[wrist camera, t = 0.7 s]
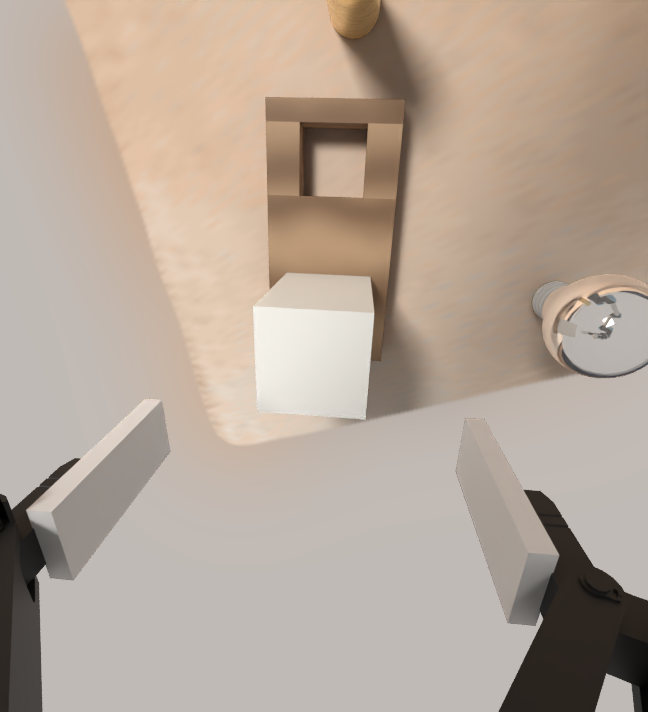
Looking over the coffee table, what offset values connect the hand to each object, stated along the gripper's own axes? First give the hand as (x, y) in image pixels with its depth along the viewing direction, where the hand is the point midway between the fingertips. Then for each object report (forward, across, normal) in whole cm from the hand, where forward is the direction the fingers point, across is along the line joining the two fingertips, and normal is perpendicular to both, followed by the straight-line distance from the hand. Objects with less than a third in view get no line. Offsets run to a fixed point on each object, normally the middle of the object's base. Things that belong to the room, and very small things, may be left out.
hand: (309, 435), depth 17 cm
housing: (+18, -1, 0) cm, 18 cm away
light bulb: (+21, +18, +2) cm, 28 cm away
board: (+21, -1, +6) cm, 22 cm away
